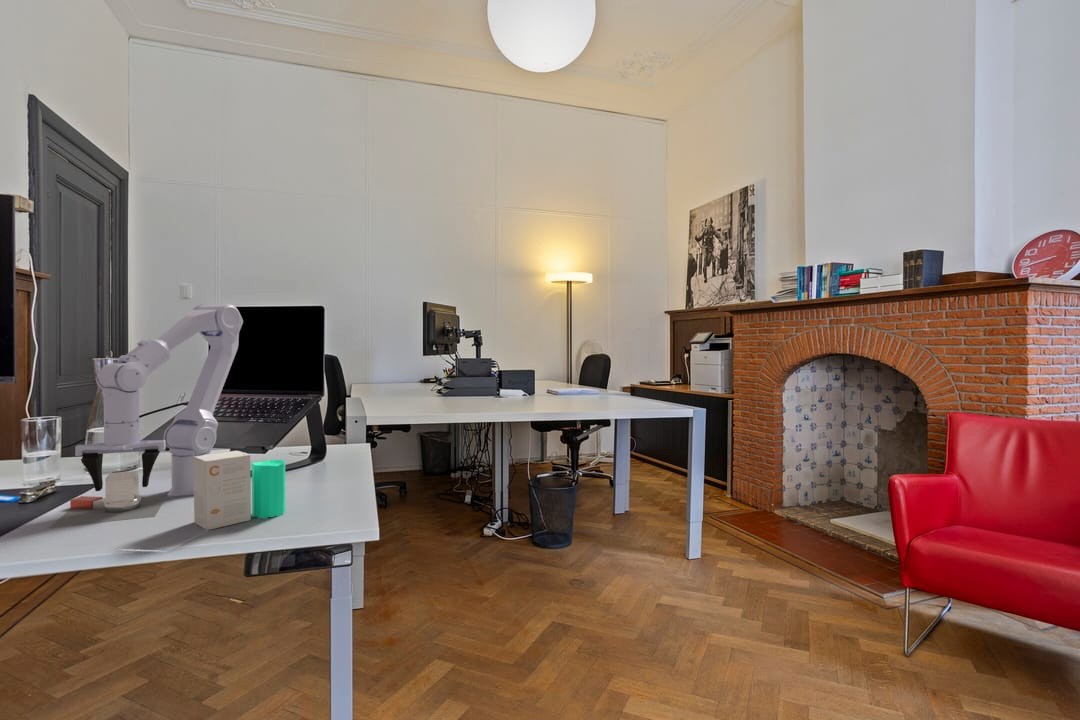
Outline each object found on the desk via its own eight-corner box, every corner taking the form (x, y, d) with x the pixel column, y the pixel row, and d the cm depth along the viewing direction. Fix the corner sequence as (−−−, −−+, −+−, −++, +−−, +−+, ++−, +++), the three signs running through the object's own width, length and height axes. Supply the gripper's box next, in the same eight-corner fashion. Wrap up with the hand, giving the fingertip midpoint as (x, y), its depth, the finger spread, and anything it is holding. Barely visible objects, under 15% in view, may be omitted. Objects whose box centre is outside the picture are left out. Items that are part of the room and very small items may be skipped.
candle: (252, 520, 107) (251, 459, 106) (252, 511, 112) (252, 453, 112) (285, 516, 110) (285, 456, 109) (284, 507, 115) (284, 451, 114)
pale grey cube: (138, 494, 115) (138, 470, 115) (133, 500, 111) (133, 475, 111) (111, 497, 113) (111, 473, 113) (105, 503, 109) (105, 478, 108)
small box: (238, 513, 111) (238, 449, 110) (251, 520, 106) (251, 454, 106) (192, 523, 104) (192, 455, 104) (205, 531, 100) (204, 460, 100)
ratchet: (148, 504, 115) (147, 479, 115) (124, 513, 109) (124, 487, 109) (89, 502, 115) (88, 478, 115) (62, 511, 109) (62, 485, 109)
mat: (167, 496, 121) (167, 495, 121) (154, 517, 107) (154, 516, 107) (75, 505, 114) (75, 504, 114) (48, 529, 100) (48, 527, 100)
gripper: (70, 426, 104) (70, 497, 105) (161, 422, 111) (162, 488, 111) (81, 421, 111) (81, 488, 111) (167, 417, 117) (167, 480, 118)
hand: (122, 487), depth 112 cm, fingers open, 7 cm apart
